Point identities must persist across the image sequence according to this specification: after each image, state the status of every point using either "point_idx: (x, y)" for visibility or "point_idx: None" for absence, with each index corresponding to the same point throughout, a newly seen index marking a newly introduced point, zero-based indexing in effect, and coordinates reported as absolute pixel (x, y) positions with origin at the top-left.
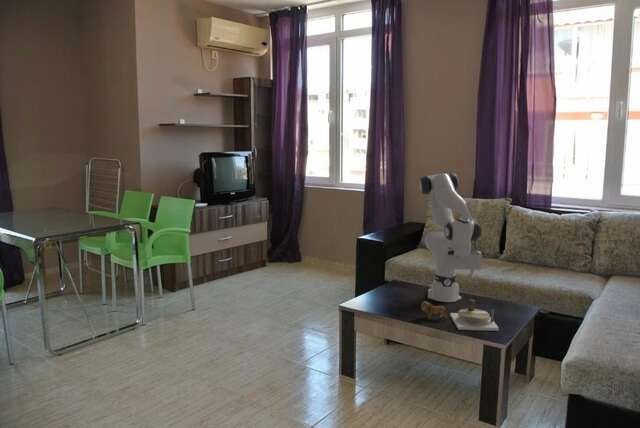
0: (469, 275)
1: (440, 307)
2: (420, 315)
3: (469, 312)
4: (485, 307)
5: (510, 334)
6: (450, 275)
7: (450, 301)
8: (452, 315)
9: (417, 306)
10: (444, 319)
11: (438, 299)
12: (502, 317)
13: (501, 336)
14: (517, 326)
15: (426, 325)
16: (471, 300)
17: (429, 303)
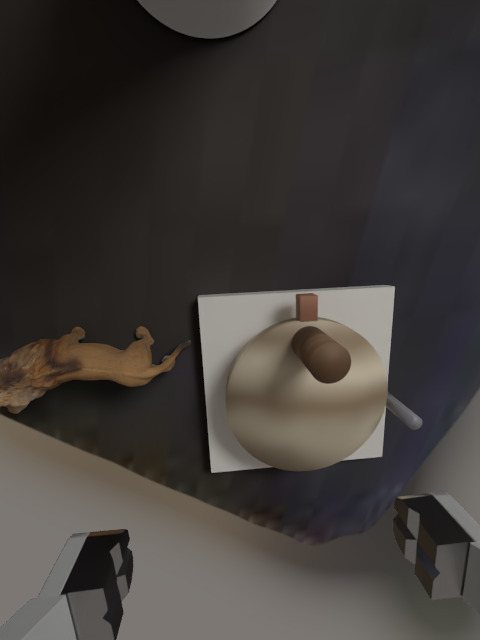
0: (437, 587)
1: (120, 383)
2: (37, 311)
3: (288, 385)
4: (427, 124)
5: (407, 474)
6: (82, 627)
7: (234, 31)
8: (204, 335)
9: (9, 149)
10: (162, 362)
11: (150, 2)
12: (454, 285)
13: (366, 497)
14: (471, 389)
15: (72, 439)
16: (328, 365)
17: (36, 381)
